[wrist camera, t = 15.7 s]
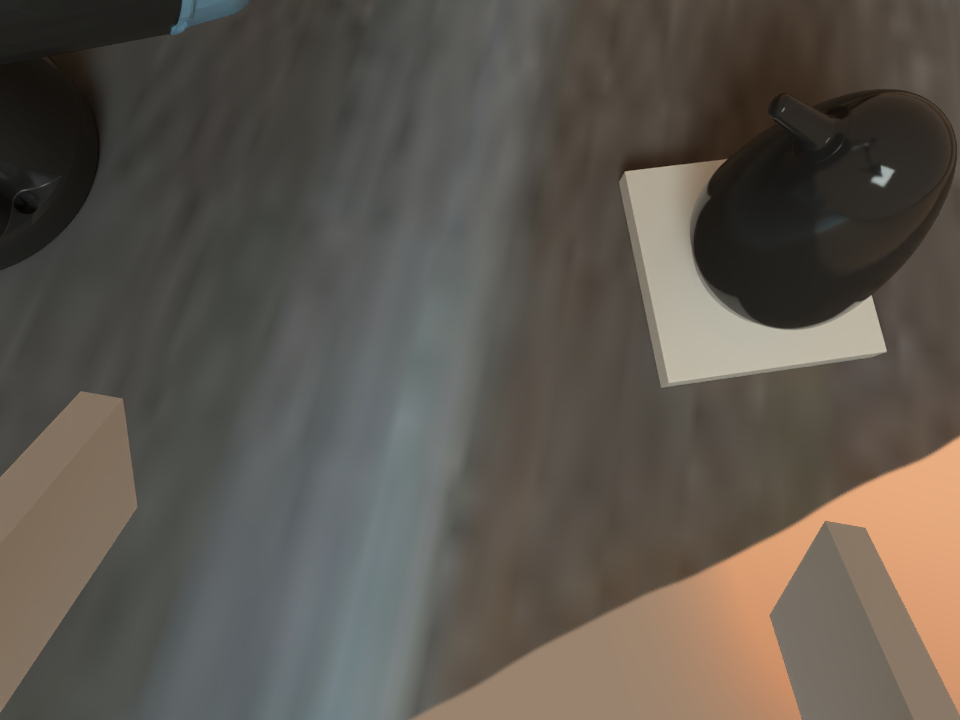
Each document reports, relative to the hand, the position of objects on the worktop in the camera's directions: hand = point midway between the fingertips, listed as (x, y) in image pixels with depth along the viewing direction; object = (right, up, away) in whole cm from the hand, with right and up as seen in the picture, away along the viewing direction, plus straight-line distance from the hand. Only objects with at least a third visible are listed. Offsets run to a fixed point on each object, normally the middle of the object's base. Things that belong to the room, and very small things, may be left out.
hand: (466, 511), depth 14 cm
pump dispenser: (+16, +9, +29) cm, 34 cm away
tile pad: (+16, +8, +30) cm, 35 cm away
